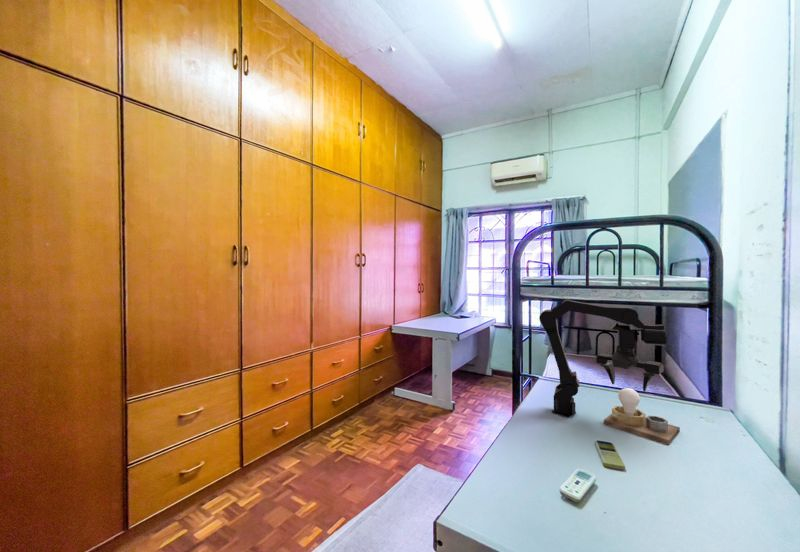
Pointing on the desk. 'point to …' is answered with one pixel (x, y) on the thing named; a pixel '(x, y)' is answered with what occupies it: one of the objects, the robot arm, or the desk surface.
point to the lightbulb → (629, 400)
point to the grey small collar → (657, 423)
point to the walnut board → (645, 430)
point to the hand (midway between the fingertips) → (628, 387)
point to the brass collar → (620, 416)
